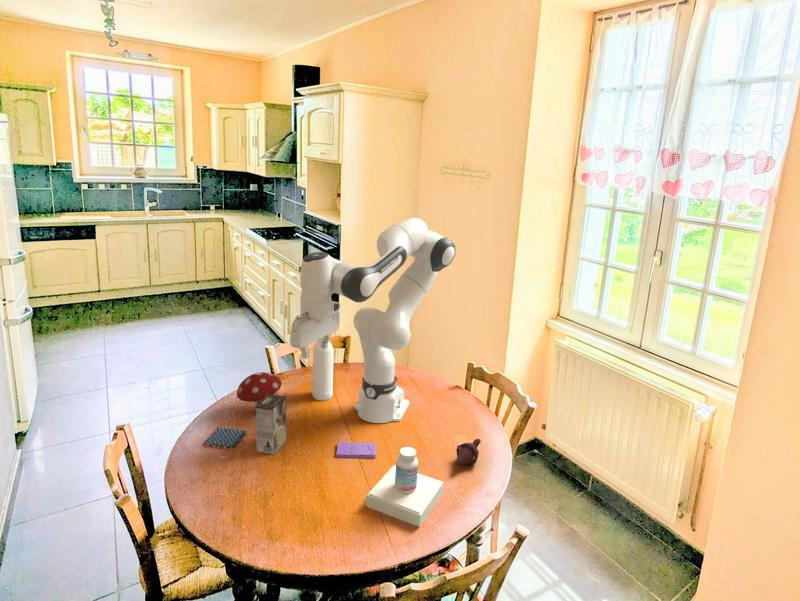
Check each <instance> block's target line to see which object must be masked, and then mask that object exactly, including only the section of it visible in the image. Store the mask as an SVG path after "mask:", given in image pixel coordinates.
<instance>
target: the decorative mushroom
mask: <svg viewBox="0 0 800 601" xmlns="http://www.w3.org/2000/svg"><path fill="white" fill-rule="evenodd" d="M282 384H283V383H282V381H281V378H280V377H279V376H277V375H275V374H273V373H271V372H263V371H261V372H256V373H252V374H250V375H249V376H246V378H244V380H242V381H241V382H240V384H239V385H238V387H237V389H236V390H237V391H236V395H237V396H236V398H238V400H240V401H242V402H247V403H248V402H249V403H250V402H251V403H252V402H256V405H257V404H258V403H259V402H260V401H261V400H262V399H263V398H264V397H265V396H266V395H267V394H272V395H276V393H278V391H279V390H280V389H281V387H282ZM256 405H255V406H256Z"/></svg>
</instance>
